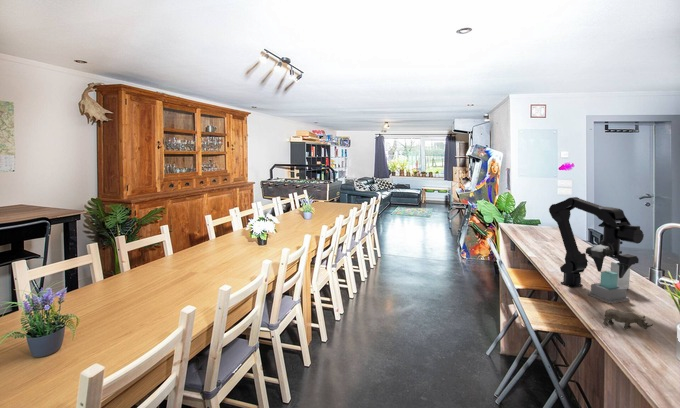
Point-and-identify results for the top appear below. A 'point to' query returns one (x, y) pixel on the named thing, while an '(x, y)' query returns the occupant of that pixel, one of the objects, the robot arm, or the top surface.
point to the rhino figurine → (624, 318)
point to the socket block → (608, 293)
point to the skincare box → (625, 279)
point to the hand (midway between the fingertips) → (609, 274)
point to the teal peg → (609, 279)
